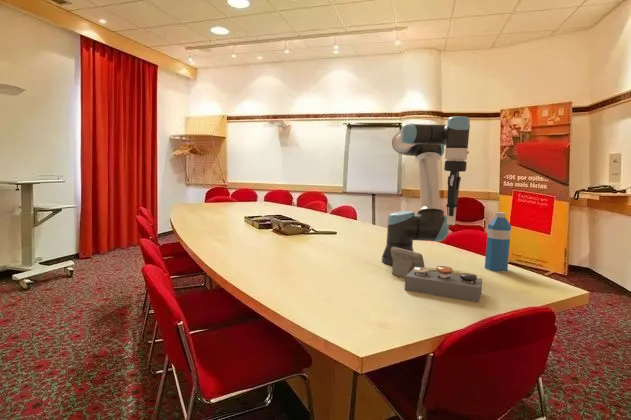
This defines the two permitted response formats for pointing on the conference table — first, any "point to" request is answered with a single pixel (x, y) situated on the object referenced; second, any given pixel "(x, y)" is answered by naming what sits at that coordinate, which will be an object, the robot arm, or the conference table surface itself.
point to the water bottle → (498, 243)
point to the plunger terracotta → (444, 272)
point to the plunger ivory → (421, 270)
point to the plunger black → (468, 277)
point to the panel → (444, 286)
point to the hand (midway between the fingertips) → (450, 224)
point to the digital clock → (405, 261)
